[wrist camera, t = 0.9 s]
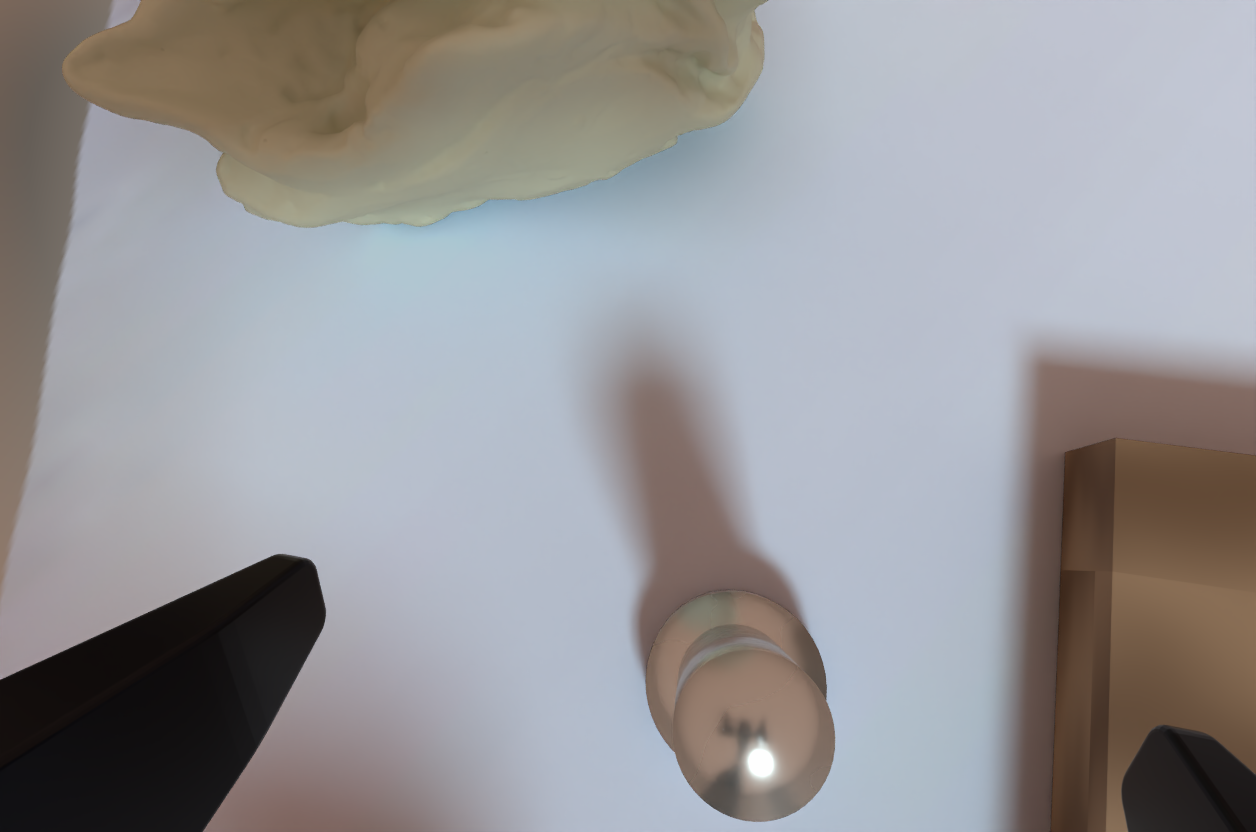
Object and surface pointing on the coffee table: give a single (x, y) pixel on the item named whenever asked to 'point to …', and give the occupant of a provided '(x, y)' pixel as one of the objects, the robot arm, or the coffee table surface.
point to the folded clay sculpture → (421, 94)
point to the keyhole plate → (1150, 614)
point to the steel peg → (742, 704)
